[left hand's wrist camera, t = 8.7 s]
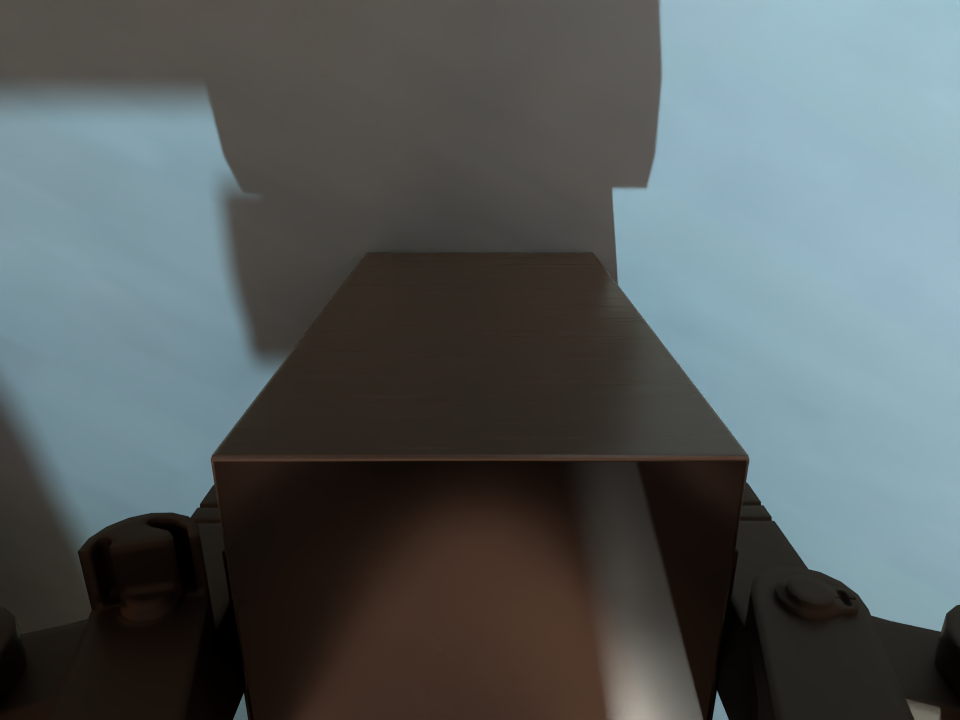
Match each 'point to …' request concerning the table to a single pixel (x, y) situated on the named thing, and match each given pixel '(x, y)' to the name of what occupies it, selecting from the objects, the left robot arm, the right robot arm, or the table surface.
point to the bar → (480, 504)
